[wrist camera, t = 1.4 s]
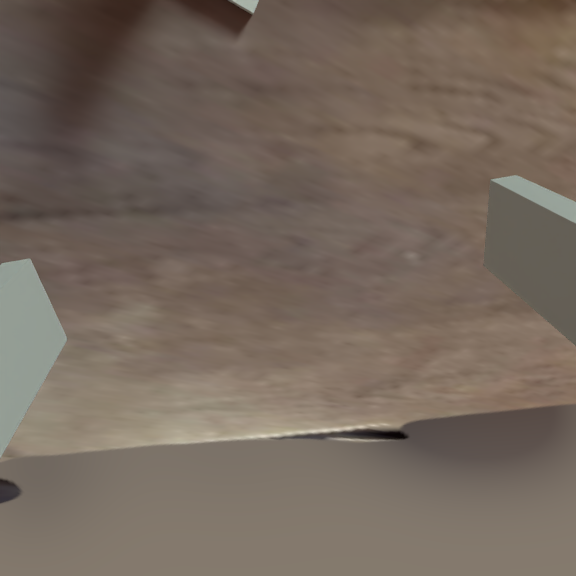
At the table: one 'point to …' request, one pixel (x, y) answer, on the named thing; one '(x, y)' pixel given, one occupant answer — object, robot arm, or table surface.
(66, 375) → the table surface
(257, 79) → the table surface
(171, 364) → the table surface
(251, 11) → the stand
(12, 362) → the robot arm
